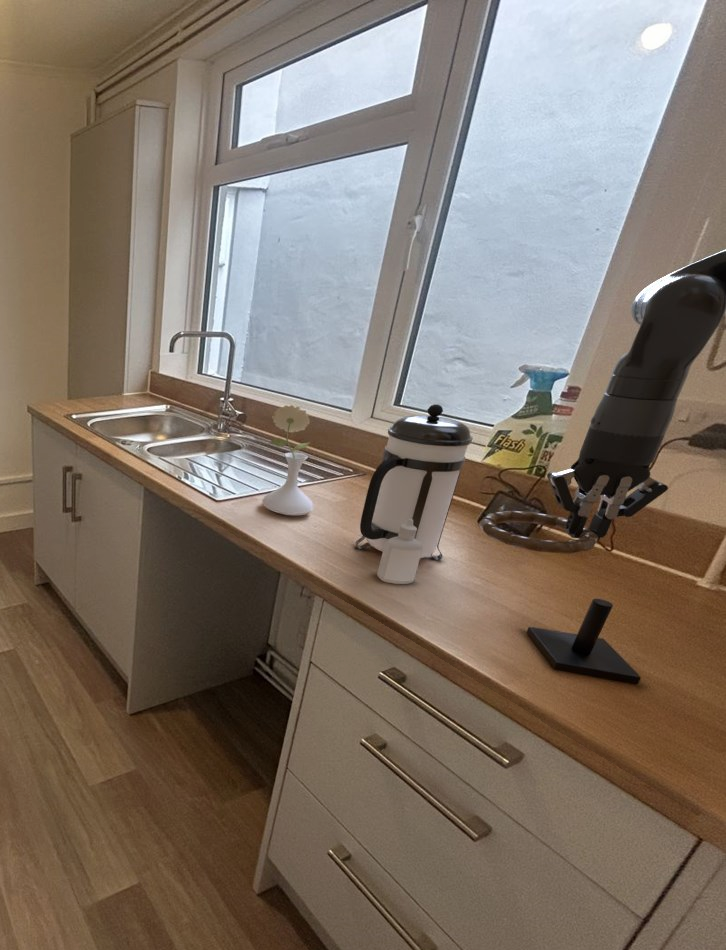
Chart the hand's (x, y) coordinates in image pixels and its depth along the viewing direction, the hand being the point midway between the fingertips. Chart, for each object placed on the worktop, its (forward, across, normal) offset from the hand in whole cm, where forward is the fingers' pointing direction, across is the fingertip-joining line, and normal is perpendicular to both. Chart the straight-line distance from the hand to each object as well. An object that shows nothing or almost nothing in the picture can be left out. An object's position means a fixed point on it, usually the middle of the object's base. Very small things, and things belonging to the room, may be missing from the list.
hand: (582, 536), depth 81 cm
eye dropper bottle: (+14, -22, +3) cm, 26 cm away
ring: (0, -6, 0) cm, 6 cm away
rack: (+13, -2, -13) cm, 19 cm away
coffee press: (+14, -20, +14) cm, 28 cm away
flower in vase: (+13, -40, +32) cm, 53 cm away
